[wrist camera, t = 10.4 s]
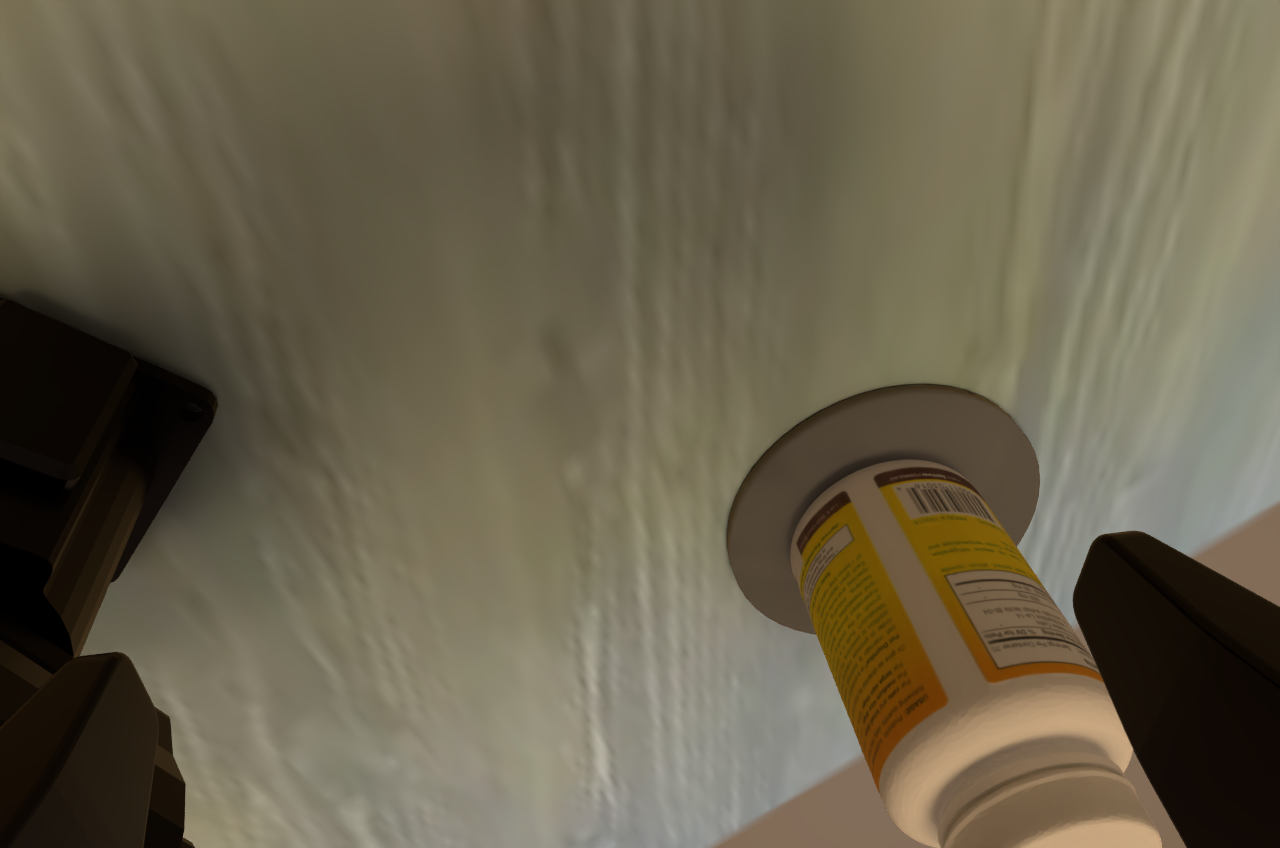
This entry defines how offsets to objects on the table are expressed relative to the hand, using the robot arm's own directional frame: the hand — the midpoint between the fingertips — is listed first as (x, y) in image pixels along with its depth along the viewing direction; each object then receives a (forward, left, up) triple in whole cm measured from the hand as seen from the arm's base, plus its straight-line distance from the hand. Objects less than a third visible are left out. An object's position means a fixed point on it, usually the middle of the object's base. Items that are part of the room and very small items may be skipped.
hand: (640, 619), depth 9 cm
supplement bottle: (-4, -14, -13) cm, 19 cm away
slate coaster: (-4, -14, -13) cm, 19 cm away
